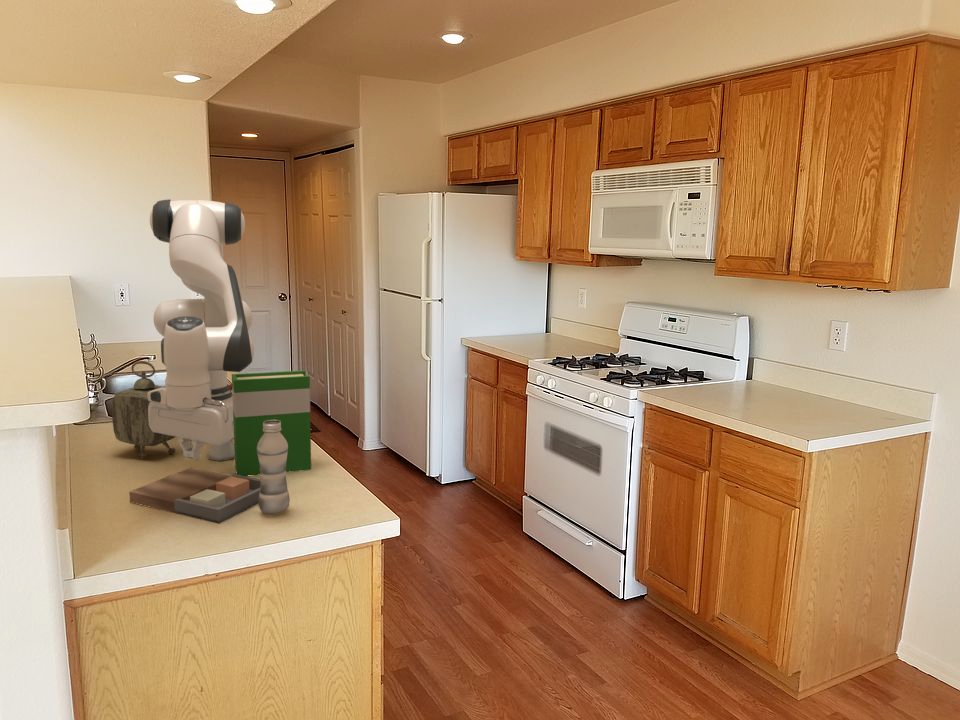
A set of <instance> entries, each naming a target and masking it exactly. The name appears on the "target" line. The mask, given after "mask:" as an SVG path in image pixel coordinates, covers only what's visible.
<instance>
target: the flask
mask: <svg viewBox="0 0 960 720" xmlns="http://www.w3.org/2000/svg"><path fill="white" fill-rule="evenodd" d="M207 457H208V458H209V460H212V461H219V462H221V461H223V462H224V461H229V460H233V459H235V450H234V442H233V440H232V439H231V441H230V442H228V443H226V444H223V445H220V446H219V445H214V444H211V448H210V450H209V453H208V455H207Z"/></svg>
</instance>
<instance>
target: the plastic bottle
mask: <svg viewBox="0 0 960 720" xmlns="http://www.w3.org/2000/svg"><path fill="white" fill-rule="evenodd" d="M280 431H281V421H279V420H268V421H264V422H263V432H264V434H263V436H262V437H261V439H260V440H259V442H258V444H257V454H258V459H259V464H260V475H259V476H260V479H261V481H260V493H259V501H258V503H259V504H258V508H259V510H260V511H261V512H262V513H263V514H266V515H279V514H282V513H285V512H286V511H287V509H288V508H289V507H290V500H291V499H290V493H289V488H288V482H287V472H286V461H287V452H288V444H287V441H286V440H285V438H284V437H283V435H282V434H281V433H280Z"/></svg>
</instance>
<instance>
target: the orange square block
mask: <svg viewBox="0 0 960 720" xmlns="http://www.w3.org/2000/svg"><path fill="white" fill-rule="evenodd" d="M216 491H218V492H223V493H225V498H228V499H233V500H235V499H237V498H239V497H241V496H243V495H245V494H247V493H249V492H250V490H249V480H247V479H243V478H238V477H233V476H231V477H229V478H227V479H224V480H222V481H220V482H217V483H216Z"/></svg>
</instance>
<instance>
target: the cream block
mask: <svg viewBox="0 0 960 720" xmlns="http://www.w3.org/2000/svg"><path fill="white" fill-rule="evenodd" d="M190 501H192V502H197V503H201V504H205V505H210V506H214V507H220V506H222V505H224V504H226V502H225V493H223V492H218V491H214V490H209V489H206V490H204V491H202V492H199V493H197V494H195V495H193V496H190Z"/></svg>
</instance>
